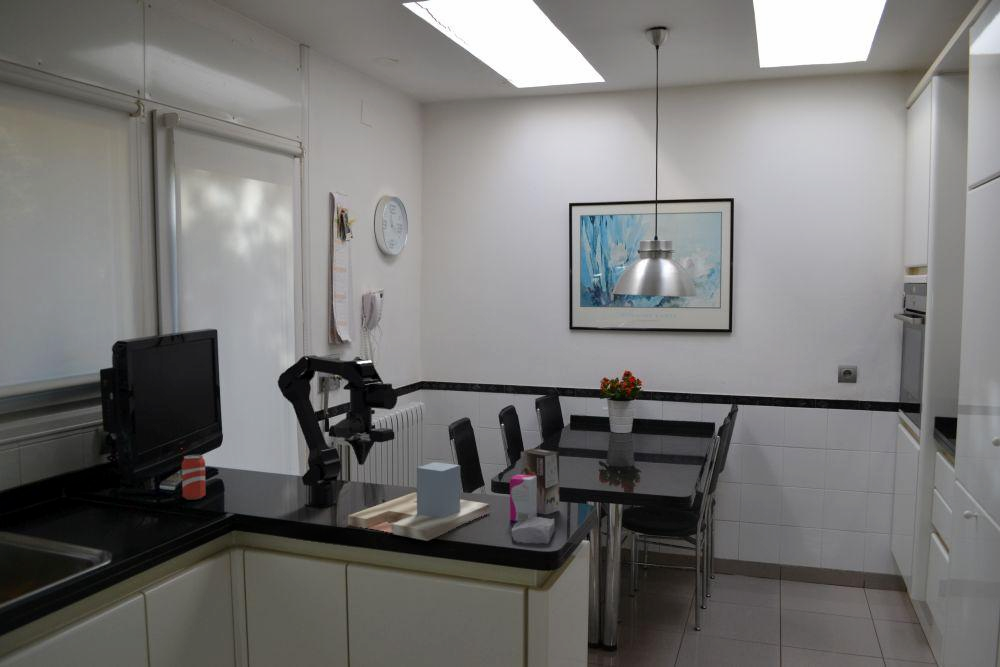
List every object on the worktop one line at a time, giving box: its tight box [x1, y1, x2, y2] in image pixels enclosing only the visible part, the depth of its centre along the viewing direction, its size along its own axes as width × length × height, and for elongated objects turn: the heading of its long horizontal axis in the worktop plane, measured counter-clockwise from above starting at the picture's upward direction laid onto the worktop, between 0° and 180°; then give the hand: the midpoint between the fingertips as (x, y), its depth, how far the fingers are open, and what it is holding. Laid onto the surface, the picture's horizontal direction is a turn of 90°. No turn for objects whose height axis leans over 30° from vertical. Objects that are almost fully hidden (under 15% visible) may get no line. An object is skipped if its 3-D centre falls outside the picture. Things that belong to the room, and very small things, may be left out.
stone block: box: [511, 516, 556, 545], centre depth 195 cm, size 12×5×10 cm
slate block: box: [416, 461, 461, 519], centre depth 206 cm, size 8×8×12 cm
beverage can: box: [181, 454, 206, 501], centre depth 231 cm, size 6×6×12 cm
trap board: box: [347, 491, 491, 542], centre depth 209 cm, size 25×28×2 cm
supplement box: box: [509, 474, 538, 524], centre depth 208 cm, size 6×6×12 cm
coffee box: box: [520, 448, 560, 515], centre depth 218 cm, size 9×6×16 cm
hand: (361, 464), depth 215 cm, fingers closed
